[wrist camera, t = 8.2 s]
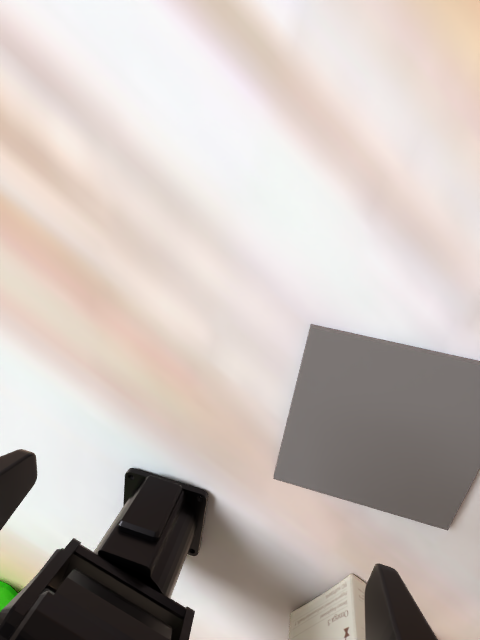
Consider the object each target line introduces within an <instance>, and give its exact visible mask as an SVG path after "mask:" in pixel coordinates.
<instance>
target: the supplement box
mask: <svg viewBox="0 0 480 640" xmlns="http://www.w3.org/2000/svg"><path fill="white" fill-rule="evenodd" d="M365 588H366V583H365V582H363V581H362V580H361V579H359V578H358V577H356V576H355V575H353V574H350V575H349V576H348V577H346V578H345V579H344V580H342V581H341V582H340V583H338V584H337V585H335V586H334V587H332V588H331V589H329V590H328V591H326V592H325V593H323V594H322V595H320V596H318V597H317V598H315V599H314V600H312V601H310V602H309V603H307V604H305V605H304V606H302V607H300V608H299V609H297V610H295V611H293V612H292V613H291V614H290V625H289V639H288V640H365Z"/></svg>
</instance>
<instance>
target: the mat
mask: <svg viewBox="0 0 480 640" xmlns="http://www.w3.org/2000/svg"><path fill="white" fill-rule="evenodd" d="M479 469H480V361H477V360H472V359H468V358H463V357H459V356H454V355H449V354H445V353H440V352H436V351H431V350H427V349H422V348H418V347H413V346H408V345H404V344H399V343H395V342H390V341H386V340H381V339H376V338H372V337H367V336H363V335H358V334H354V333H349V332H344V331H340V330H335V329H331V328H326V327H322V326H317V325H313V324H311V325H310V330H309V334H308V338H307V342H306V346H305V350H304V354H303V358H302V362H301V366H300V370H299V374H298V378H297V383H296V387H295V391H294V395H293V399H292V403H291V407H290V411H289V415H288V419H287V423H286V427H285V431H284V436H283V440H282V444H281V448H280V452H279V456H278V460H277V464H276V468H275V472H274V478H273V479H276V480H279V481H283V482H286V483H290V484H293V485H296V486H300V487H303V488H306V489H310V490H313V491H317V492H320V493H323V494H327V495H330V496H333V497H337V498H340V499H344V500H347V501H350V502H354V503H357V504H360V505H364V506H367V507H371V508H374V509H377V510H381V511H384V512H388V513H391V514H394V515H398V516H401V517H404V518H408V519H411V520H415V521H418V522H421V523H425V524H428V525H431V526H435V527H438V528H442V529H445V530H448V529H449V527H450V525H451V523H452V521H453V519H454V517H455V515H456V513H457V512H458V510H459V508H460V506H461V504H462V502H463V500H464V498H465V496H466V494H467V492H468V490H469V488H470V486H471V484H472V482H473V481H474V479H475V477H476V475H477V473H478V471H479Z"/></svg>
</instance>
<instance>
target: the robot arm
mask: <svg viewBox="0 0 480 640" xmlns="http://www.w3.org/2000/svg"><path fill="white" fill-rule="evenodd" d="M36 479H37V463H36V455H35V454H34V453H33V452H30V451H26V450H23V449H20V450H16V451H13V452H11V453H8V454H6V455H3V456H1V457H0V530H1V529H2V527H3V526H4V525H5V523H6V522H7V521H8V519H9V518H10V517H11V515H12V514H13V513H14V511H15V510H16V508H17V507H18V506H19V504H20V503H21V502H22V500H23V499H24V498H25V496H26V495H27V494H28V492H29V491H30V490H31V488H32V487H33V485H34V484H35V482H36ZM207 501H208V494H207V492H206V491H204V490H202V489H199V488H195V487H192V486H189V485H186V484H183V483H179V482H176V481H173V480H170V479H167V478H163V477H160V476H157V475H154V474H151V473H147V472H144V471H141V470H138V469H134V468H130V469H129V470H128V471H127V472H126V474H125V487H124V507H123V508H122V510H121V511H120V513H119V514H118V516H117V517H116V519H115V520H114V522H113V523H112V525H111V526H110V528H109V529H108V531H107V532H106V534H105V536H104V537H103V539H102V540H101V542H100V543H99V545H98V546H97V548H96V549H95V551H94V552H92V551H91V550H89V549H88V548H86V547H84V546H83V545H81V542H79V541H78V540H76V539H75V538H73V539H72V540H71V542H70V543H69V544H68V545H67V546H66V548H65V549H63V548H62V549H57V550H56V551H55V552H54V554H53V555H52V556H51V558H50V559H49V560H48V561H47V563H46V564H45V565H44V567H43V568H42V569H41V570H40V572H39V573H38V574H37V575H36V576H35V577H34V578H33V580H32V581H31V582H30V583H29V584H28V585H27V586H26V587H24V588H23V589H22V590H21V591H20V592H19V593H18V594H17V595H16V596H15V597H14V598H13V599H12V600H11V601H10V602H9V603H8V604H7V605H6V606H5V607H4V608H3V609H2V610H1V612H0V640H189V636H190V631H191V627H192V622H193V617H194V613H195V611H194V610H192V609H190V608H189V607H186V608H185V607H184V606H182V605H180V604H179V603H177V602H175V601H174V600H172V599H170V598H171V595H172V593H173V590H174V587H175V585H176V582H177V579H178V577H179V574H180V571H181V569H182V566H183V564H184V561H185V558H186V556H187V554H189V555H192V556H196V555H197V554H198V552H199V549H200V544H201V538H202V532H203V526H204V519H205V513H206V507H207ZM365 640H438V639H437V638H436V636H435V634H434V632H433V631H432V629H431V627H430V626H429V624H428V622H427V621H426V619H425V617H424V616H423V614H422V612H421V611H420V609H419V607H418V606H417V604H416V602H415V601H414V599H413V597H412V596H411V594H410V592H409V591H408V589H407V587H406V586H405V584H404V582H403V581H402V579H401V577H400V576H399V574H398V572H397V571H396V570H395V569H393V568H391V567H388V566H385V565H382V564H376V565H375V566H374V568H373V571H372V573H371V575H370V578H369V580H368V582H367V584H366V588H365Z"/></svg>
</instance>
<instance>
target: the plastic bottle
mask: <svg viewBox="0 0 480 640" xmlns="http://www.w3.org/2000/svg"><path fill="white" fill-rule="evenodd" d="M17 594H18V593H17V592H16V591H15V590H14V589H13V588H12V587H11V586H10V585H8V584H6V583H4V582H1V581H0V612H1V610H2V609H3V608H4V607H5V606H6V605H7V604H8V603H9V602H10V601H11V600H12V599H13V598H14V597H15V596H16V595H17Z"/></svg>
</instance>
